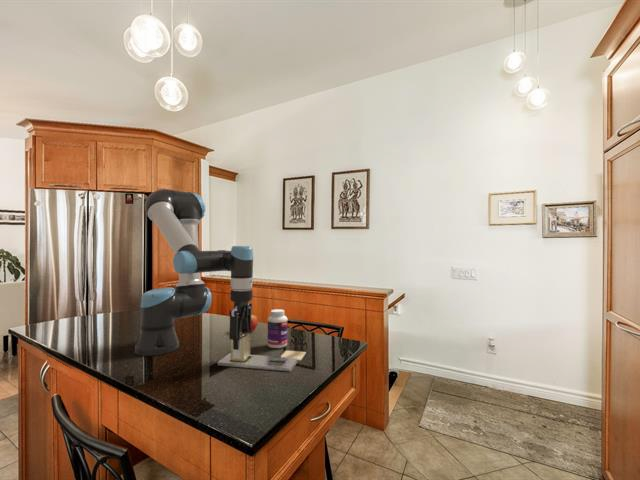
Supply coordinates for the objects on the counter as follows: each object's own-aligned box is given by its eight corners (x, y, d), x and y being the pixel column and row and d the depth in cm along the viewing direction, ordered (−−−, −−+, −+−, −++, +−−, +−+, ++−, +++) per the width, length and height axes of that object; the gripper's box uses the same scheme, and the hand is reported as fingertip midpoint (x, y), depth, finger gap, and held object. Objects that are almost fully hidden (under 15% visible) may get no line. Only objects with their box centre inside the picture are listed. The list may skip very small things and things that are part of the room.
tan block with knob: (230, 362, 107) (231, 336, 107) (237, 356, 112) (237, 331, 112) (244, 363, 106) (244, 337, 106) (250, 357, 111) (250, 332, 111)
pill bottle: (283, 350, 120) (284, 313, 121) (264, 348, 122) (264, 312, 122) (289, 343, 128) (290, 309, 129) (271, 342, 130) (271, 308, 130)
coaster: (279, 359, 111) (279, 358, 111) (285, 351, 119) (285, 350, 119) (300, 360, 110) (300, 359, 110) (305, 353, 117) (305, 351, 117)
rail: (217, 365, 105) (217, 362, 105) (230, 355, 114) (230, 352, 114) (290, 371, 100) (290, 368, 100) (297, 361, 109) (297, 358, 109)
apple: (261, 330, 146) (261, 309, 147) (248, 335, 139) (248, 313, 139) (248, 328, 151) (249, 307, 151) (235, 332, 144) (235, 310, 144)
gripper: (240, 294, 99) (239, 366, 99) (261, 286, 117) (260, 347, 117) (218, 293, 101) (217, 364, 100) (242, 285, 118) (241, 345, 118)
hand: (240, 354), depth 109 cm, fingers closed on tan block with knob, 5 cm apart
